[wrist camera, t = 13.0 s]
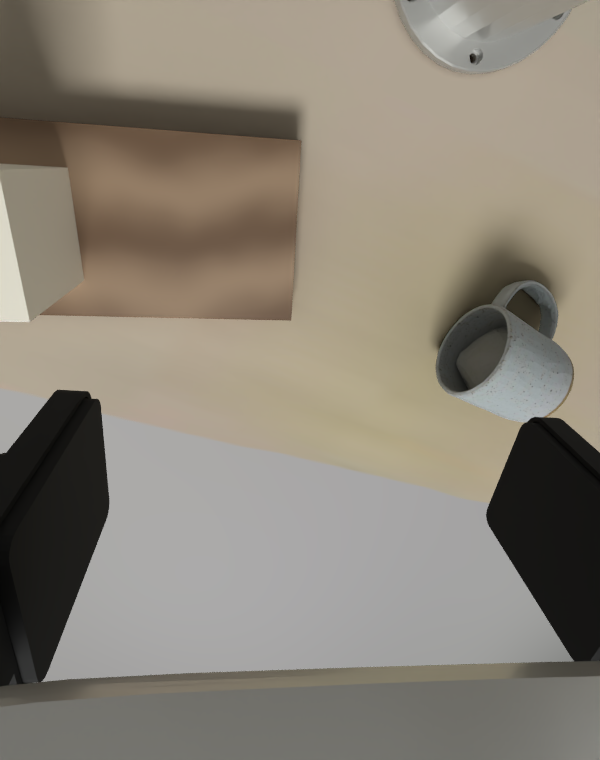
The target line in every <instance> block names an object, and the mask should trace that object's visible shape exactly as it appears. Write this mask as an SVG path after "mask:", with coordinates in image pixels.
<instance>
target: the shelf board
mask: <svg viewBox="0 0 600 760" xmlns="http://www.w3.org/2000/svg"><path fill="white" fill-rule="evenodd" d="M300 153H301V141H300V140H287V139H274V138H261V137H248V136H235V135H222V134H209V133H196V132H183V131H170V130H157V129H144V128H131V127H118V126H105V125H92V124H79V123H66V122H53V121H40V120H27V119H14V118H1V117H0V164H17V165H33V166H49V167H65V168H68V173H69V180H70V187H71V193H72V200H73V207H74V214H75V221H76V228H77V234H78V241H79V248H80V255H81V262H82V268H83V275H84V281H83V282H81V283H80V284H79V285H77V286H76V287H75V288H74V289H72V290H71V291H70V292H68V293H67V294H66V295H64V296H63V297H62V298H60V299H59V300H58V301H57V302H55V303H54V304H53V305H51V306H50V307H49V308H47V309H46V310H45V311H44V312H42V313H41V314H40V315H66V316H112V317H159V318H205V319H251V320H291V314H292V296H293V278H294V260H295V242H296V224H297V207H298V189H299V171H300Z"/></svg>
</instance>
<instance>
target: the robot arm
mask: <svg viewBox="0 0 600 760" xmlns="http://www.w3.org/2000/svg"><path fill="white" fill-rule="evenodd" d="M587 1H590V0H410V1H407V0H394V2H395V5H396V7H397V10H398V13H399V16H400V19H401V21H402V23H403V25H404V27H405V28H406V30H407V32H408V34H409V36H410V37H411V39H412V40H413V41H414V43H415V44H416V45H417V46H418V47H419V48H420V50H421V51H422V52H423V53H424V54H425V55H426V56H428V57H429V58H430V59H432V60H433V61H434V62H436V63H437V64H438V65H440V66H443V67H445V68H447V69H450V70H452V71H454V72H460V73H466V74H483V73H490V72H494V71H497V70H501V69H504V68H506V67H509V66H511V65H513V64H516V63H518V62H520V61H522V60H524V59H525V58H527V57H528V56H529V55H531V54H532V53H534V52H535V51H537V50H538V49H539V48H540V47H541V46H542V45H544V44H545V43H546V42H547V41H548V40H549V39H550V38H551V37H552V36H553V35H554V34H555V33H556V31H557V30H558V29H559V28H560V26H561V25H562V24H563V23H564V21H565V20H566V18H567V17H568V15H569V14H570V12H571V10H572V8H574V7H577V6H579V5H581V4H583V3H585V2H587ZM470 55H472V57H473V62H472V63H471V62H470ZM102 427H103V426H102V415H101V405H100V401H99V400H98V399H91V396H90V393H89V392H88V391H70V390H57V391H55V392H54V393H53V395H52V396H51V397H50V398H49V400H48V401H47V403H46V404H45V405H44V406H43V407H42V409H41V410H40V411H39V412H38V414H37V415H36V416H35V417H34V419H33V420H32V421H31V422H30V424H29V425H28V427H27V428H26V429H25V430H24V431H23V433H22V434H21V435H20V436H19V438H18V439H17V440H16V441H15V443H14V444H13V445H12V446H11V448H10V449H9V450H8V451H7V453H3V454H0V760H600V453H599V452H598V451H597V450H596V449H595V448H594V447H593V446H591V445H590V444H589V443H588V442H587V441H586V440H585V439H583V438H582V437H581V436H580V435H579V434H578V433H577V432H576V431H574V430H573V429H572V428H571V427H570V426H569V425H568V424H566V423H565V422H564V421H563V420H561V419H559V418H547V417H533V418H531V419H530V420H529V421H528V422H527V423H524V424H523V425H522V426H521V428H520V430H519V433H518V435H517V437H516V440H515V442H514V445H513V447H512V450H511V452H510V455H509V457H508V460H507V462H506V464H505V467H504V469H503V472H502V474H501V477H500V479H499V482H498V484H497V487H496V489H495V491H494V494H493V496H492V499H491V501H490V504H489V506H488V509H487V514H486V517H487V521H488V524H489V527H490V528H491V530H492V531H493V533H494V535H495V536H496V538H497V539H498V541H499V543H500V544H501V546H502V547H503V549H504V551H505V552H506V554H507V555H508V557H509V559H510V560H511V562H512V563H513V565H514V567H515V568H516V570H517V571H518V573H519V574H520V576H521V578H522V579H523V581H524V582H525V584H526V586H527V587H528V589H529V591H530V592H531V594H532V595H533V597H534V599H535V600H536V602H537V603H538V605H539V606H540V608H541V610H542V611H543V613H544V614H545V616H546V618H547V619H548V621H549V622H550V624H551V626H552V627H553V629H554V630H555V632H556V634H557V635H558V637H559V638H560V640H561V642H562V643H563V645H564V646H565V648H566V650H567V651H568V653H569V654H570V656H571V657H572V659H573V660H574V661H575V662H534V663H497V664H461V665H425V666H390V667H359V668H358V667H357V668H327V669H297V670H270V671H269V670H268V671H239V672H212V673H211V672H210V673H183V674H165V675H164V674H163V675H145V676H126V677H106V678H87V679H68V680H59V681H48V682H41V681H43V679H44V678H45V676H46V674H47V672H48V669H49V667H50V664H51V661H52V659H53V656H54V654H55V651H56V649H57V646H58V643H59V641H60V638H61V636H62V633H63V630H64V628H65V625H66V622H67V620H68V618H69V615H70V612H71V610H72V607H73V605H74V602H75V599H76V597H77V594H78V592H79V589H80V586H81V583H82V581H83V579H84V576H85V573H86V571H87V568H88V565H89V563H90V560H91V557H92V555H93V552H94V550H95V547H96V545H97V542H98V540H99V537H100V534H101V532H102V529H103V527H104V524H105V521H106V518H107V515H108V510H109V492H108V483H107V472H106V471H107V470H106V459H105V448H104V437H103V428H102ZM34 682H38V683H34Z"/></svg>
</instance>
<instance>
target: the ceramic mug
mask: <svg viewBox="0 0 600 760" xmlns="http://www.w3.org/2000/svg"><path fill="white" fill-rule="evenodd" d="M520 289H523V290H524V291H525V292H526V293H528V294H529V295H530V296H531V297H532V298H533V299H534V300H535V302H536V303H537V304H539V306H540V312H541V320H540V327H539V330H538V331H537V330H535V329H534V328H532V327H531V326H530V325H528V324H527V323H525V322H524V321H523V320H521V319H520V318H518V317H517V316H515V315H514V314H513V313H511V312H510V311H508V310H507V309H506V306H507V304H508V302H509V301H510V300H511V299H512V297H513V296H514V295H515V294H516V292H517V291H518V290H520ZM557 320H558V310H557V305H556V302H555V299H554V297H553V295H552V294H551V293H550V291H549V290H548V289H547V288H546V287H545V286H544V285H542V284H540V283H539V282H536V281H534V280H526V281H521V282H514V283H512V284H509V285H507V286H506V287H504V288H503V289H502V290H501V291H500V292H499V293H498V295H497V296H496V298H495V299H494V300H493V302H492V304H487V305H482V306H479V307H477V308H474V309H472V310H471V311H469V312H468V313H466V314H465V315H464V316H462V317H461V318H460V319H459V320H458V321H457V322H456V323H455V324H454V326H453V327H452V328H451V329H450V331H449V332H448V334H447V335H446V337H445V339H444V340H443V342H442V344H441V347H440V349H439V351H438V356H437V360H436V375H437V379H438V382H439V384H440V386H441V387H442V388H443V389H444V390H445V391H446V392H447V393H448V394H450V395H451V396H454V397H456V398H459V399H461V400H464V401H466V402H468V403H470V404H472V405H475V406H477V407H480V408H482V409H485V410H487V411H489V412H491V413H494V414H496V415H498V416H500V417H503V418H506V419H509V420H513V421H518V422H528V421H529V420H530V419H531V418H533V417H548V416H549V415H551V414H552V413H553V412H555V411H556V410H557V409H558V408H559V407H560V406H561V405H562V404H563V403H564V401H565V400H566V398H567V396H568V394H569V393H570V391H571V388H572V385H573V379H574V369H573V364H572V362H571V360H570V358H569V356H568V355H567V354H566V353H565V351H564V350H563V349H562V348H561V347H560V346H559V345H558V344H556V343H555V342H554V341H552V338H553V336H554V333H555V330H556V327H557Z"/></svg>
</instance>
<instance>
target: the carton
mask: <svg viewBox="0 0 600 760" xmlns="http://www.w3.org/2000/svg"><path fill="white" fill-rule="evenodd" d="M83 281H84V275H83V268H82V262H81V255H80V248H79V241H78V234H77V228H76V221H75V214H74V207H73V200H72V193H71V187H70V180H69V173H68V168H65V167H49V166H33V165H17V164H0V322H30V321H32V320H33V319H34V318H36V317H37V316H38V315H40V314H41V313H42V312H44V311H45V310H46V309H47V308H49V307H50V306H51V305H53V304H54V303H55V302H57V301H58V300H59V299H60V298H62V297H63V296H64V295H66V294H67V293H68V292H70V291H71V290H72V289H74V288H75V287H76V286H77V285H79V284H80V283H81V282H83Z"/></svg>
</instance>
